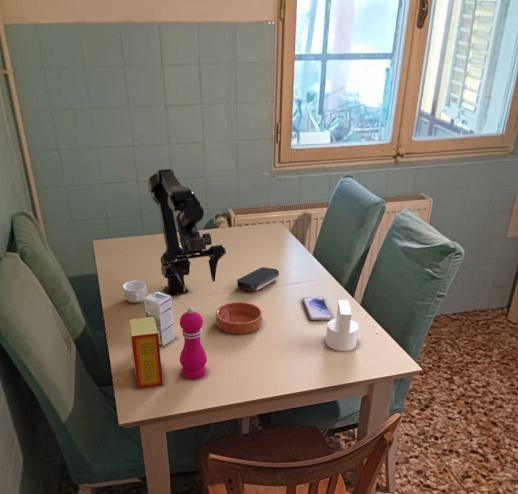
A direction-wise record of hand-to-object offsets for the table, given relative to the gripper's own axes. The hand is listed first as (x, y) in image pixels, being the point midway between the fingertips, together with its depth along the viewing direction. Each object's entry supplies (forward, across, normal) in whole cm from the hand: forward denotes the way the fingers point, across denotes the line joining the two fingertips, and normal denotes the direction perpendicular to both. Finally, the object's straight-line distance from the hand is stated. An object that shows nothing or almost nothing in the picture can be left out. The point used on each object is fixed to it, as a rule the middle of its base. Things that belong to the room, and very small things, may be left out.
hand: (199, 283), depth 167 cm
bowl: (+13, +12, +7) cm, 19 cm away
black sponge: (0, +29, +28) cm, 40 cm away
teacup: (-1, -15, +29) cm, 33 cm away
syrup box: (+14, -13, +6) cm, 20 cm away
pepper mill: (+26, -9, -10) cm, 29 cm away
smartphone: (+14, +39, +7) cm, 42 cm away
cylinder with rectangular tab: (+26, +36, -11) cm, 46 cm away
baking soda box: (+24, -21, -8) cm, 33 cm away
